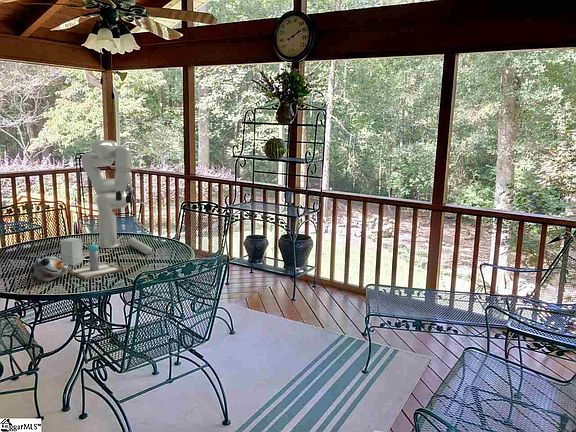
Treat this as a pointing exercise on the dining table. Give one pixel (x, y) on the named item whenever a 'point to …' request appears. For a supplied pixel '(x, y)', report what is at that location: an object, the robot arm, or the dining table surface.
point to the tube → (140, 246)
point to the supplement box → (71, 251)
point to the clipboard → (103, 270)
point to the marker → (93, 257)
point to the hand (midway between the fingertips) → (123, 201)
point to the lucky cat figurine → (48, 269)
